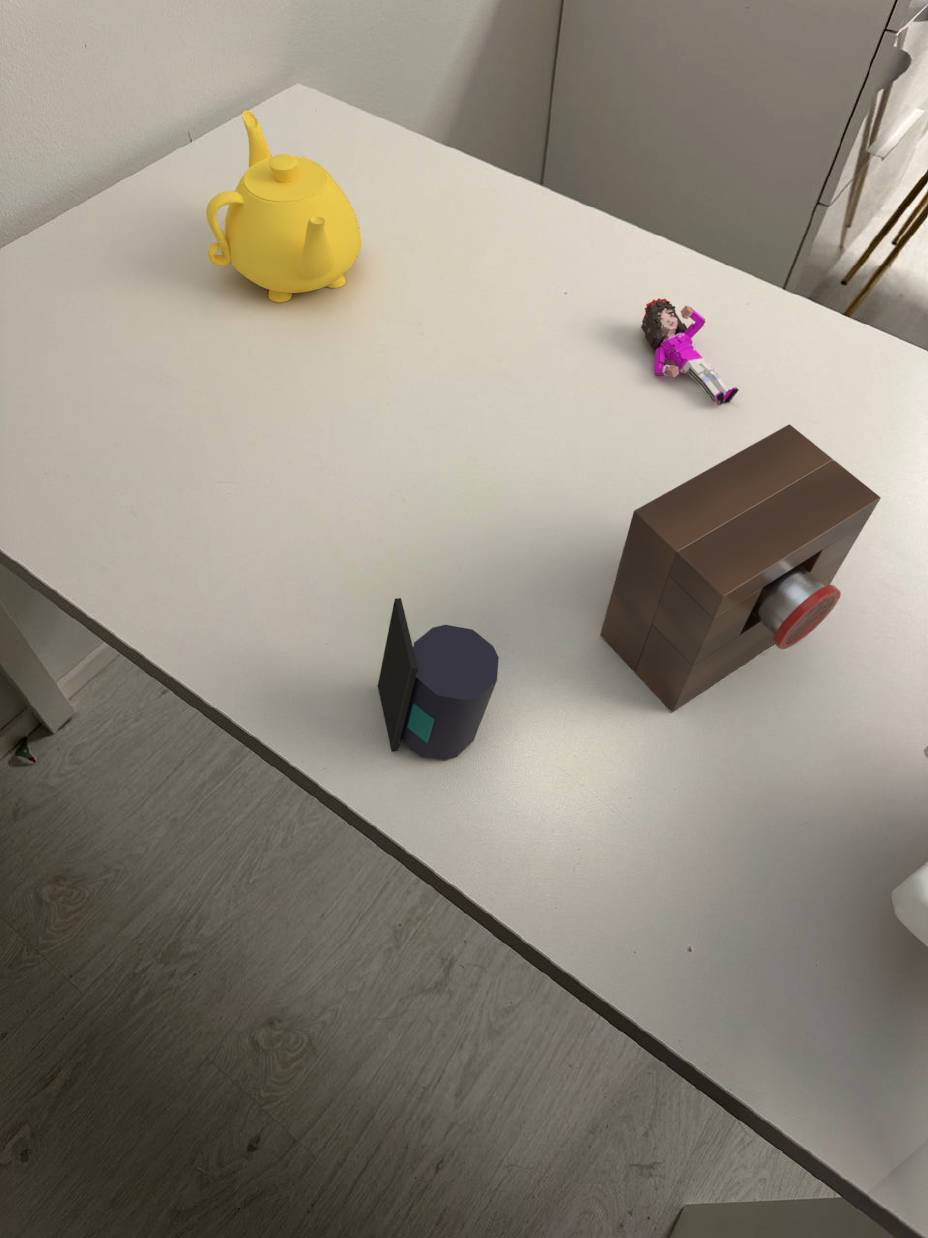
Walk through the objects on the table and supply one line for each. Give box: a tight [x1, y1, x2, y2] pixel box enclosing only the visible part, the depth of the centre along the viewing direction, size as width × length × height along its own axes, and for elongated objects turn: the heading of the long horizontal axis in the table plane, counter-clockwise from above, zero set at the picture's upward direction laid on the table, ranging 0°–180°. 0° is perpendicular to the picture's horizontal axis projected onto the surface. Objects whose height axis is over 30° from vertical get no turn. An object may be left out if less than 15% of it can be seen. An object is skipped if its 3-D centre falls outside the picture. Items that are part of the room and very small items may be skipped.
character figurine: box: [640, 297, 739, 406], centre depth 86 cm, size 6×5×12 cm
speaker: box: [377, 597, 500, 761], centre depth 61 cm, size 8×6×10 cm
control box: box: [599, 424, 882, 713], centre depth 65 cm, size 8×14×14 cm, turn 125°
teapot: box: [205, 110, 362, 303], centre depth 89 cm, size 20×15×12 cm
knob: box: [751, 564, 842, 650], centre depth 61 cm, size 4×5×5 cm
